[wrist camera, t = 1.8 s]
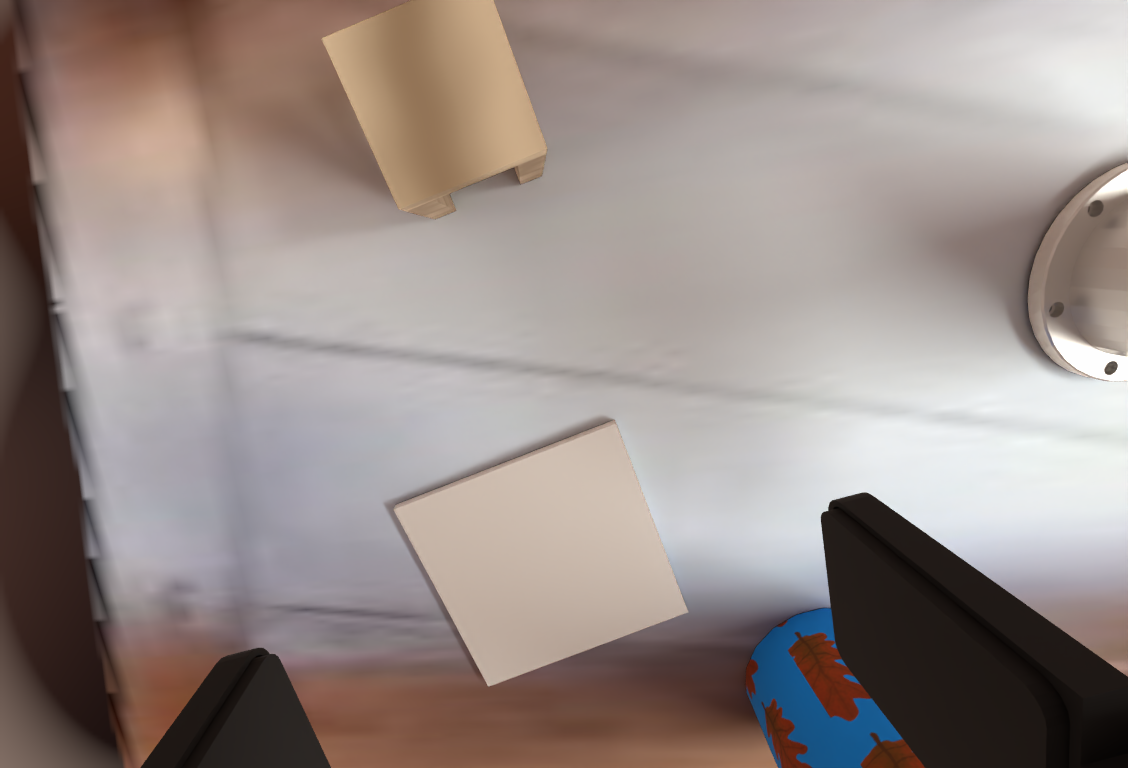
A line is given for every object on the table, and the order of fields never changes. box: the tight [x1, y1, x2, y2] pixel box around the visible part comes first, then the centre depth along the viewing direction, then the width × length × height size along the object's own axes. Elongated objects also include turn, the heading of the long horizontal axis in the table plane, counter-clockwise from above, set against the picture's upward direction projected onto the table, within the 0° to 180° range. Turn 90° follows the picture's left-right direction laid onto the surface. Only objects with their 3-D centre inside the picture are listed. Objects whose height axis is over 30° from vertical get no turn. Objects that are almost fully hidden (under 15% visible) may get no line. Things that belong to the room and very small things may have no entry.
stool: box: [321, 0, 547, 219], centre depth 23 cm, size 6×6×8 cm
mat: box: [394, 420, 688, 687], centre depth 33 cm, size 14×14×1 cm
